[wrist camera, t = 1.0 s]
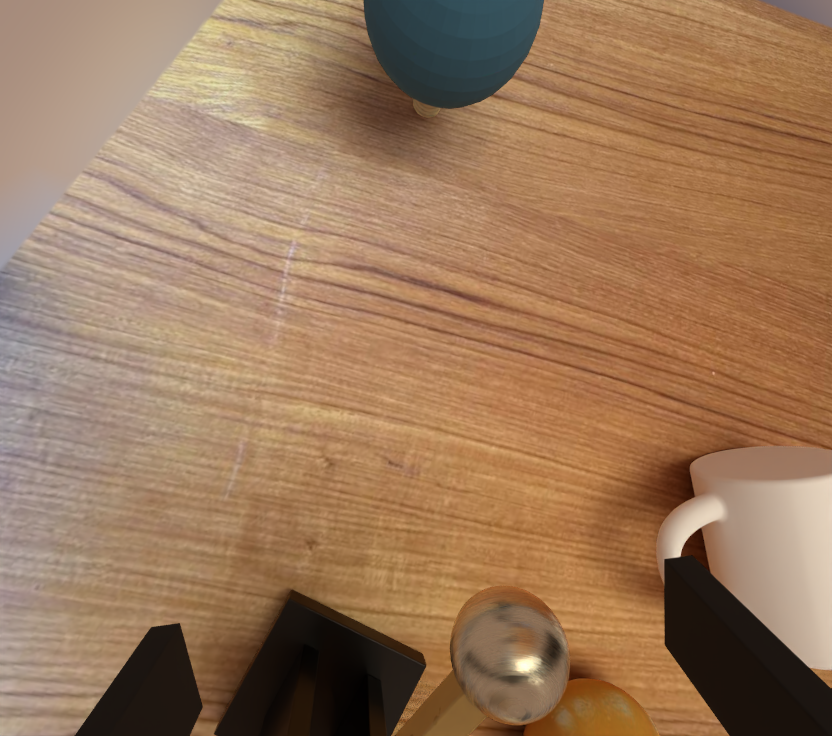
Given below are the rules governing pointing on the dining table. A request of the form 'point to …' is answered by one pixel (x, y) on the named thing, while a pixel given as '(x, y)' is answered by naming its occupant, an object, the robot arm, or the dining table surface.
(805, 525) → the mug
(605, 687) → the fruit
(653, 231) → the dining table surface
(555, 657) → the lamp switch
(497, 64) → the dark teal ovoid
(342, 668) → the switch bracket
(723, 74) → the dining table surface
